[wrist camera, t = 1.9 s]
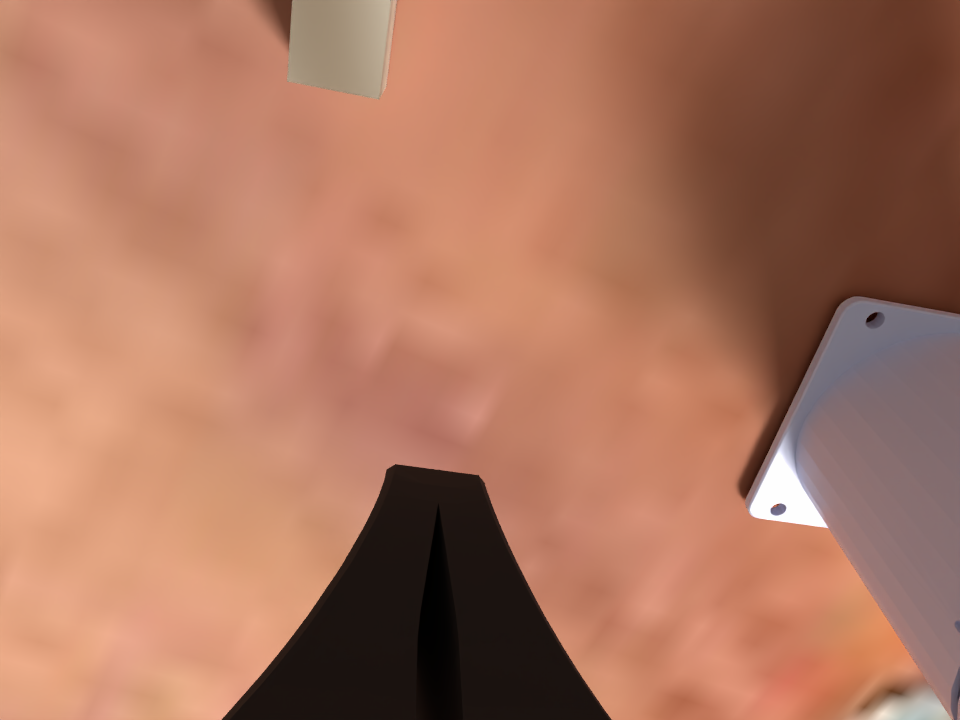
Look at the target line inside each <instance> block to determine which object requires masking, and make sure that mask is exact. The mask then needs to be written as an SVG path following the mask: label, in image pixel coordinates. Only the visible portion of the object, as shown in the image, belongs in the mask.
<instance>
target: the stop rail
mask: <svg viewBox="0 0 960 720" xmlns="http://www.w3.org/2000/svg"><path fill="white" fill-rule="evenodd" d="M396 5H397V0H292V11H291V28H290V44H289V60H288V77H287V81H288V82H293V83H298V84H303V85H308V86H313V87H318V88H323V89H328V90H333V91H338V92H344V93H349V94H354V95H359V96H364V97H369V98H374V99H380V97H381V95H382V93H383V92H384V90H385V88H386V85H387V77H388V69H389V61H390V53H391V45H392V37H393V29H394V21H395V13H396Z"/></svg>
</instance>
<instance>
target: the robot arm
mask: <svg viewBox="0 0 960 720" xmlns="http://www.w3.org/2000/svg"><path fill="white" fill-rule="evenodd" d="M874 312H878V313H877V316H876V318H875V319H874V320H872V321H870V322H866V319H867V318H868V316H869V315H871V314H872V313H874ZM779 503H780V505H779V506H777V507H773V508H772V506H773V505H775V504H779ZM745 505H746V508H747V510H748V512H749V513H750V514H751V515H752V516H753V517H756V518H761V519H768V520H775V521H783V522H790V523H797V524H804V525H811V526H819V527H826V528H829V530H830V531H831V533H832V534H833V536H834V538H835V539H836V541H837V542H838V544H839V545H840V547H841V548H842V550H843V552H844V553H845V555H846V556H847V558H848V559H849V561H850V562H851V564H852V565H853V567H854V569H855V570H856V572H857V573H858V575H859V576H860V578H861V579H862V581H863V583H864V584H865V586H866V587H867V589H868V590H869V592H870V593H871V595H872V596H873V598H874V600H875V601H876V603H877V604H878V606H879V607H880V609H881V610H882V612H883V614H884V615H885V617H886V618H887V620H888V621H889V623H890V624H891V626H892V627H893V629H894V631H895V632H896V634H897V635H898V637H899V638H900V640H901V641H902V643H903V645H904V646H905V648H906V649H907V651H908V652H909V654H910V655H911V657H912V658H913V660H914V662H915V663H916V665H917V666H918V668H919V669H920V671H921V672H922V674H923V676H924V677H925V679H926V680H927V682H928V683H929V685H930V686H931V688H932V690H933V691H934V693H935V694H936V696H937V697H938V699H939V700H940V702H941V703H942V705H943V707H944V708H945V710H946V711H947V713H948V714H949V716H950V717H951V719H952V720H960V314H956V313H950V312H945V311H939V310H934V309H928V308H923V307H917V306H911V305H906V304H900V303H895V302H889V301H884V300H878V299H872V298H867V297H861V296H855V297H851V298H848V299H846V300H845V301H844V302H842V303H841V304H840V305H839V307H838V308H837V310H836V312H835V314H834V316H833V318H832V320H831V322H830V324H829V326H828V329H827V331H826V333H825V335H824V337H823V339H822V341H821V343H820V345H819V347H818V349H817V351H816V354H815V356H814V358H813V360H812V362H811V364H810V366H809V368H808V370H807V372H806V374H805V376H804V379H803V381H802V383H801V385H800V387H799V389H798V391H797V393H796V395H795V397H794V399H793V402H792V404H791V406H790V408H789V410H788V412H787V414H786V416H785V418H784V420H783V422H782V424H781V427H780V429H779V431H778V433H777V435H776V437H775V439H774V441H773V443H772V445H771V447H770V449H769V452H768V454H767V456H766V458H765V460H764V462H763V464H762V466H761V468H760V470H759V472H758V474H757V477H756V479H755V481H754V483H753V485H752V487H751V489H750V491H749V493H748V495H747V497H746V501H745ZM222 720H611V718H610V717H609V716H608V714H607V713H606V712H605V710H604V709H603V707H602V706H601V704H600V703H599V701H598V700H597V699H596V697H595V696H594V694H593V693H592V691H591V690H590V688H589V687H588V685H587V684H586V683H585V681H584V680H583V678H582V677H581V675H580V673H579V672H578V670H577V669H576V667H575V666H574V664H573V663H572V661H571V659H570V658H569V656H568V655H567V653H566V651H565V650H564V648H563V646H562V645H561V643H560V641H559V640H558V638H557V636H556V634H555V633H554V631H553V629H552V628H551V626H550V624H549V622H548V621H547V619H546V617H545V616H544V614H543V612H542V610H541V608H540V606H539V605H538V603H537V601H536V599H535V597H534V595H533V593H532V591H531V589H530V587H529V585H528V583H527V582H526V580H525V578H524V576H523V574H522V572H521V570H520V568H519V566H518V564H517V562H516V560H515V557H514V555H513V553H512V551H511V549H510V547H509V545H508V542H507V540H506V538H505V535H504V533H503V531H502V529H501V526H500V524H499V521H498V519H497V517H496V514H495V512H494V509H493V506H492V504H491V501H490V498H489V496H488V493H487V490H486V487H485V483H484V482H483V481H482V479H481V478H480V477H479V475H472V474H464V473H457V472H449V471H442V470H434V469H427V468H419V467H412V466H404V465H397V464H395V465H394V466H392V467H390V468H389V469H387V471H386V475H385V480H384V483H383V486H382V489H381V491H380V494H379V497H378V499H377V501H376V503H375V506H374V508H373V510H372V512H371V514H370V516H369V518H368V520H367V522H366V524H365V526H364V528H363V530H362V531H361V533H360V535H359V537H358V538H357V540H356V542H355V544H354V545H353V547H352V549H351V551H350V552H349V554H348V556H347V557H346V559H345V561H344V563H343V564H342V566H341V567H340V569H339V571H338V572H337V574H336V575H335V577H334V578H333V580H332V581H331V582H330V584H329V585H328V587H327V588H326V590H325V591H324V593H323V594H322V596H321V597H320V599H319V600H318V602H317V603H316V605H315V606H314V607H313V609H312V610H311V612H310V613H309V615H308V616H307V617H306V619H305V620H304V621H303V623H302V624H301V625H300V627H299V628H298V629H297V631H296V632H295V633H294V635H293V636H292V637H291V639H290V640H289V641H288V642H287V644H286V645H285V646H284V648H283V649H282V650H281V651H280V653H279V654H278V655H277V656H276V657H275V659H274V660H273V661H272V662H271V664H270V665H269V666H268V667H267V669H266V670H265V671H264V672H263V673H262V675H261V676H260V677H259V678H258V679H257V680H256V681H255V683H254V684H253V685H252V686H251V687H250V688H249V689H248V691H247V692H246V693H245V694H244V695H243V696H242V697H241V698H240V700H239V701H238V702H237V703H236V704H235V705H234V706H233V708H232V709H231V710H230V711H229V712H228V713H227V714H226V715H225V717H224V718H223V719H222Z"/></svg>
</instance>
